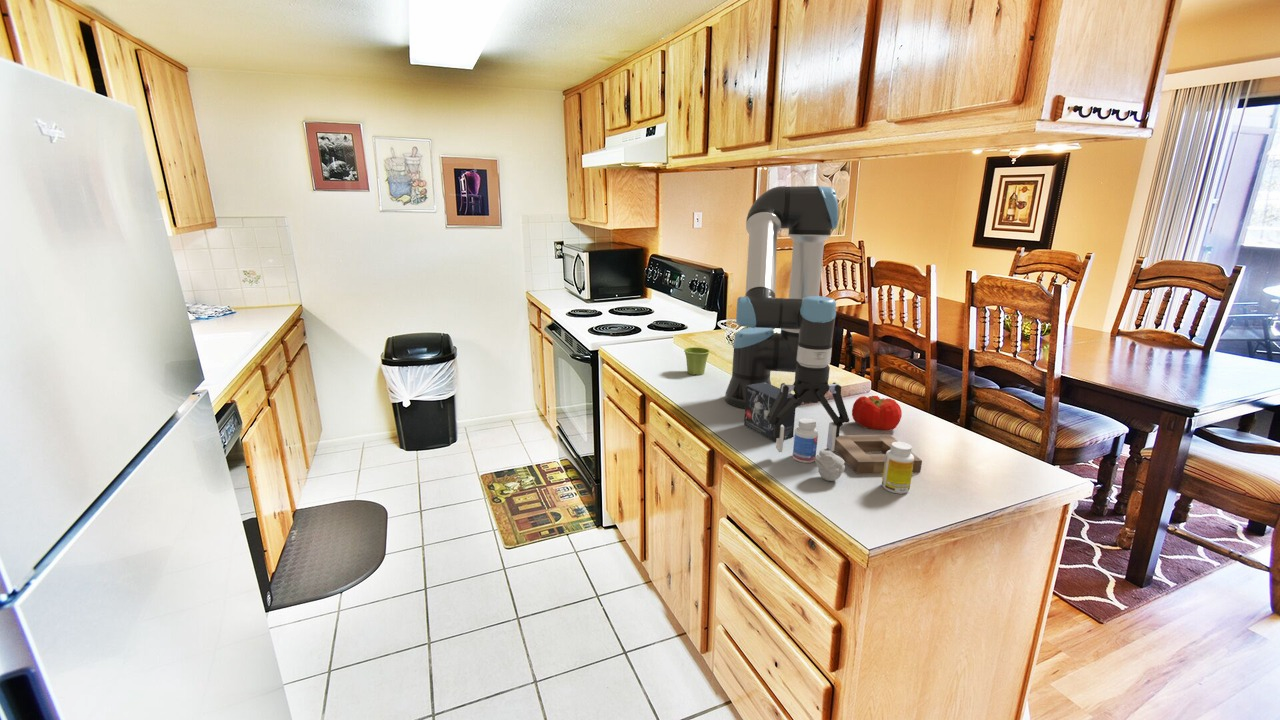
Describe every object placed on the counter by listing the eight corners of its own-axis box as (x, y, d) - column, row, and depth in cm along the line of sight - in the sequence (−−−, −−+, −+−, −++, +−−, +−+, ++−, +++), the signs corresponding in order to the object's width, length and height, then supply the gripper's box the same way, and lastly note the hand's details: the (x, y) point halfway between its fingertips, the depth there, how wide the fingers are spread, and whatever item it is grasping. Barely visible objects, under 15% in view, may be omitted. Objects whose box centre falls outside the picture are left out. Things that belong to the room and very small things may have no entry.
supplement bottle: (914, 494, 117) (921, 450, 114) (889, 495, 116) (895, 451, 114) (901, 482, 122) (907, 439, 119) (876, 482, 122) (882, 440, 119)
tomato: (903, 424, 155) (907, 396, 152) (894, 439, 145) (899, 409, 142) (856, 415, 162) (859, 387, 159) (845, 428, 152) (848, 399, 149)
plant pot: (695, 367, 208) (696, 345, 206) (714, 373, 201) (715, 350, 199) (677, 372, 202) (678, 349, 200) (696, 378, 195) (697, 354, 193)
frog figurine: (806, 475, 125) (809, 446, 123) (834, 471, 127) (837, 444, 125) (821, 487, 119) (824, 458, 117) (849, 484, 121) (853, 455, 119)
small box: (742, 425, 153) (745, 384, 150) (761, 421, 156) (764, 381, 153) (774, 442, 142) (778, 399, 139) (794, 437, 145) (798, 395, 142)
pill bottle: (816, 464, 130) (820, 426, 127) (793, 462, 131) (796, 424, 129) (814, 454, 135) (817, 417, 133) (791, 452, 136) (795, 416, 134)
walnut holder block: (831, 446, 140) (832, 435, 139) (888, 445, 141) (889, 434, 140) (857, 473, 126) (858, 462, 125) (920, 472, 127) (922, 460, 126)
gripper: (766, 368, 122) (759, 457, 128) (871, 367, 124) (860, 455, 130) (757, 359, 130) (751, 443, 135) (856, 359, 131) (846, 442, 137)
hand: (804, 449), depth 133 cm, fingers open, 12 cm apart
